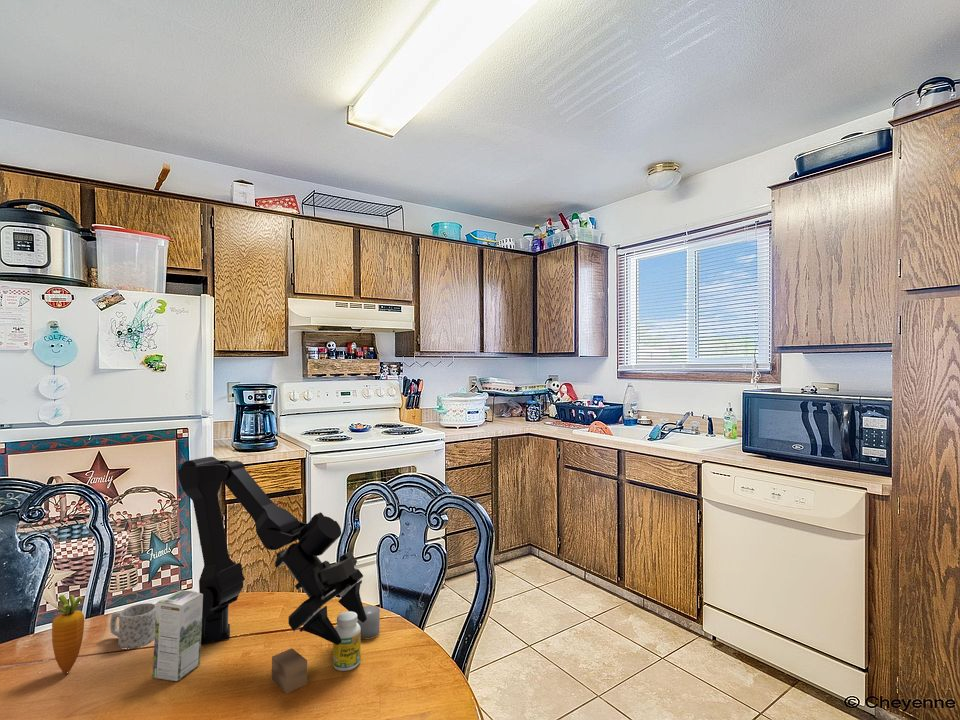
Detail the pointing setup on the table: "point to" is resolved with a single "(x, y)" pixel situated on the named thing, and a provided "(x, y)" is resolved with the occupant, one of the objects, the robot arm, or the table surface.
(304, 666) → the walnut block
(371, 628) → the gray capsule
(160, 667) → the syrup box
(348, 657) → the supplement bottle
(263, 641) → the table surface
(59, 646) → the carrot
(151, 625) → the mug
